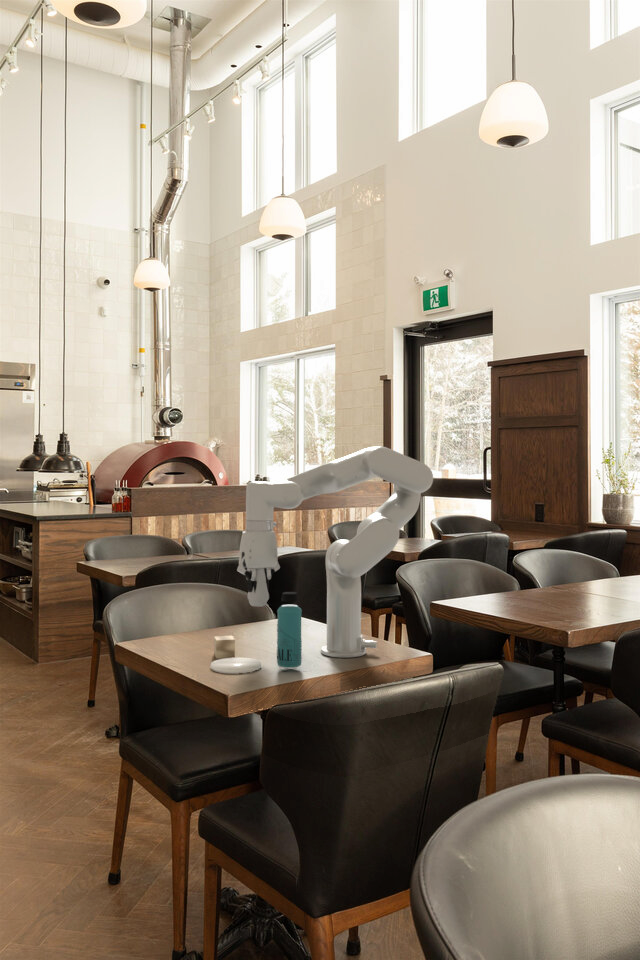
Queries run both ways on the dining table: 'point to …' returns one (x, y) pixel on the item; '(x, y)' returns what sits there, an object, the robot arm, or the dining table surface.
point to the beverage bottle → (289, 632)
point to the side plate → (235, 665)
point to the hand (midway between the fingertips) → (258, 593)
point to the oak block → (224, 646)
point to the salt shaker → (259, 590)
